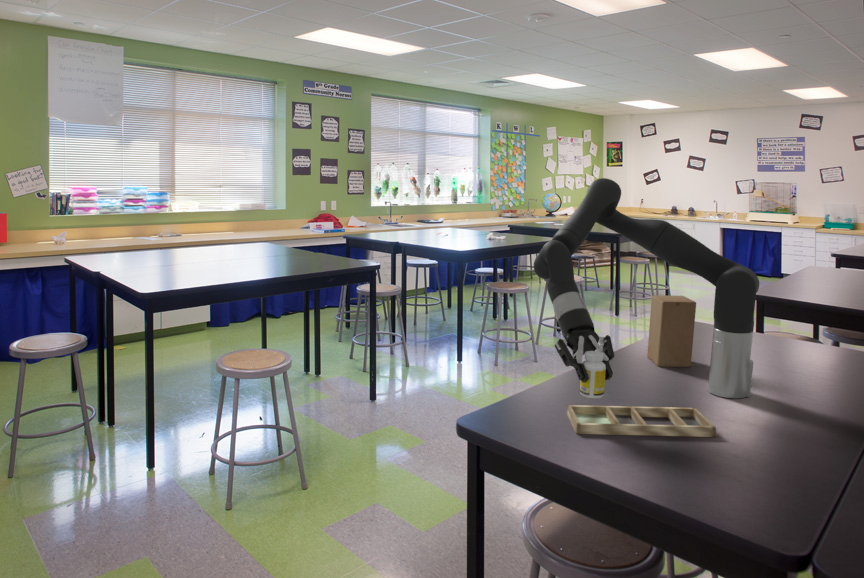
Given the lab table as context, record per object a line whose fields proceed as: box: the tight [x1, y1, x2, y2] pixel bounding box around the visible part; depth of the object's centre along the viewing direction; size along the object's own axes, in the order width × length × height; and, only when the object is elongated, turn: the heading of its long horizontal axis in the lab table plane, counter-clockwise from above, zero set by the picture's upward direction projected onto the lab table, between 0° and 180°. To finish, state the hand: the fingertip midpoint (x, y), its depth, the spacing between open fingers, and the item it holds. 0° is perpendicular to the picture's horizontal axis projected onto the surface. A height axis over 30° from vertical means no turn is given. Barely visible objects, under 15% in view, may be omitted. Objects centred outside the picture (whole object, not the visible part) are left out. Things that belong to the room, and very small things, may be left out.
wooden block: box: [646, 294, 697, 368], centre depth 187 cm, size 10×10×20 cm
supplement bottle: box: [579, 350, 606, 399], centre depth 139 cm, size 5×5×10 cm
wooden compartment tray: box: [566, 404, 717, 438], centre depth 140 cm, size 30×12×2 cm, turn 88°
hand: (597, 379), depth 137 cm, fingers closed on supplement bottle, 5 cm apart
